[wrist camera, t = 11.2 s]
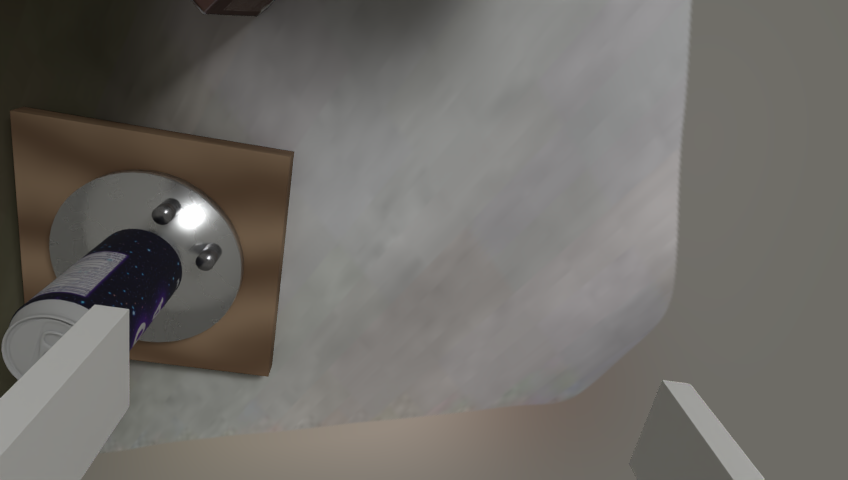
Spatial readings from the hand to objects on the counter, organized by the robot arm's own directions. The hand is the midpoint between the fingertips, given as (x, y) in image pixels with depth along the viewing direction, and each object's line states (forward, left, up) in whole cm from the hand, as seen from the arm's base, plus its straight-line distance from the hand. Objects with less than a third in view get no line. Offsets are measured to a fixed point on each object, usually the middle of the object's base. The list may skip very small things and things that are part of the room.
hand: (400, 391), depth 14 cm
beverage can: (+11, -16, -26) cm, 33 cm away
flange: (+11, -16, -27) cm, 33 cm away
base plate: (+11, -16, -29) cm, 35 cm away
